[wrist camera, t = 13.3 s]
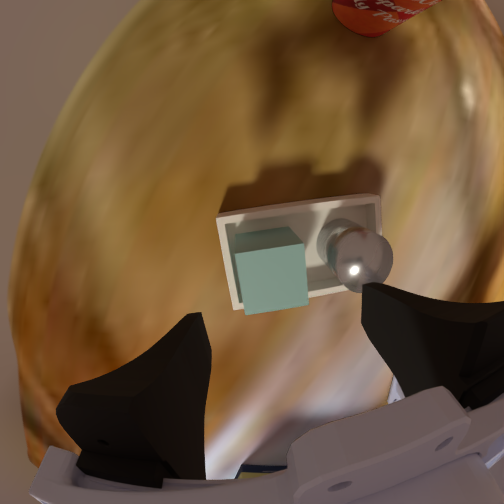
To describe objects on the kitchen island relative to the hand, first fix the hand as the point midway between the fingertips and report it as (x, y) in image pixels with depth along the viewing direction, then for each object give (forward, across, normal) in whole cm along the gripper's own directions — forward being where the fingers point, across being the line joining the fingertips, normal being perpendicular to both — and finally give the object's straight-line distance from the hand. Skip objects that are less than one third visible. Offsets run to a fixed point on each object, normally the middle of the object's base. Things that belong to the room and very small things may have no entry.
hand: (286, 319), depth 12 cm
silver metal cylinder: (+10, -6, 0) cm, 11 cm away
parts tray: (+10, -3, 0) cm, 11 cm away
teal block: (+10, 0, 0) cm, 10 cm away
